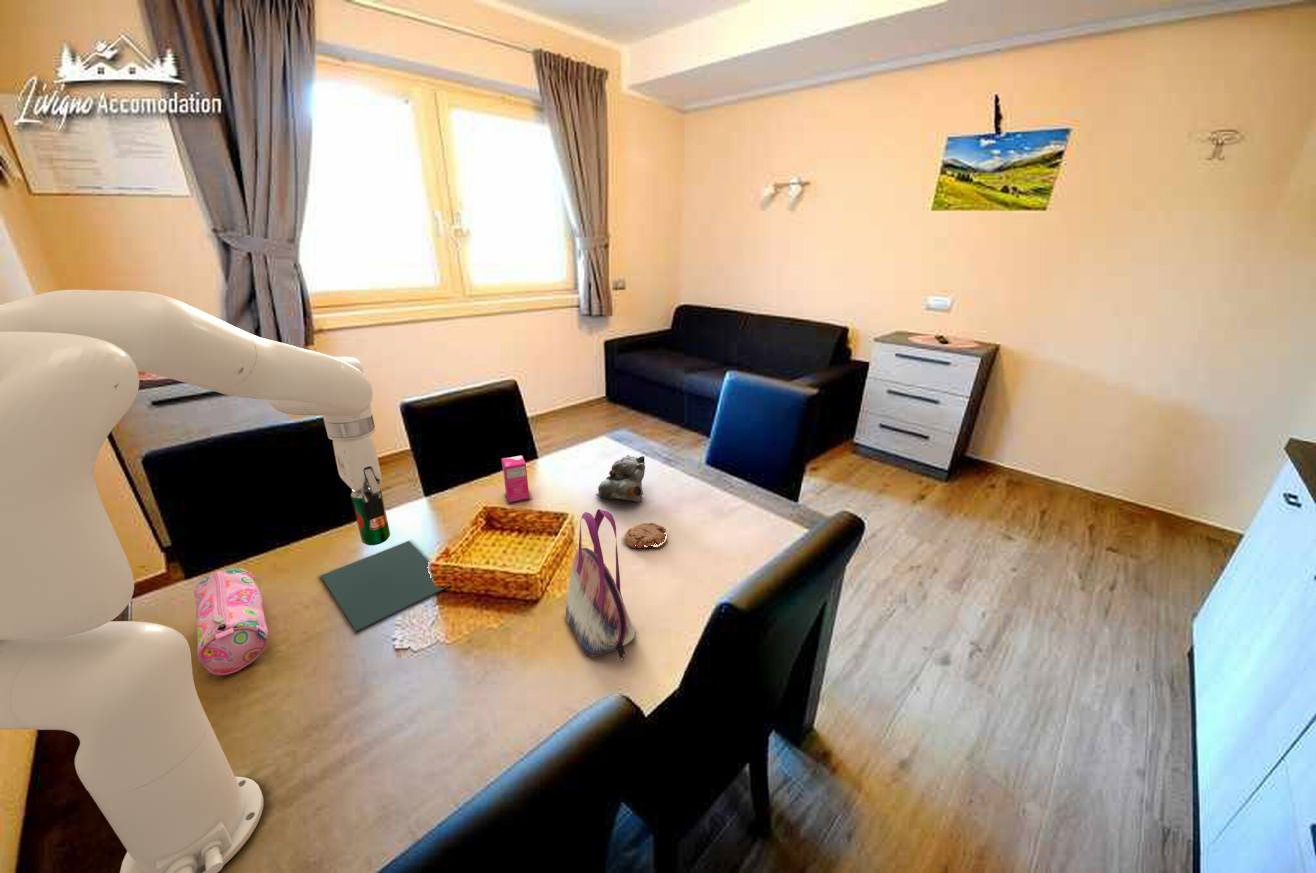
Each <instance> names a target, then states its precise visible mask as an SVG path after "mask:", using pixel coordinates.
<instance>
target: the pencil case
mask: <svg viewBox="0 0 1316 873" xmlns="http://www.w3.org/2000/svg"><path fill="white" fill-rule="evenodd" d="M193 594H194V598H195V606H196V610H195V618H196V621H197V622H196V641H197V647H196V648H197V650H196V653H197V655H196V656H197V659H198V661H199V662H200V665H201V666H202V667H204V669H205V670H206V671H208V672H209V673H211V674H213V675H216V676H228V675H231V674H234V673H237V672H239V671H241V670H242V669H244V668H246V667H247V666H250V664H252V663H253V662H255V661H256V660H257V659H258V658H259V657H261V655H262V654H263V653H264V651H265V650H266V648H267V646H268V644H269V629H268V626H267V620H266V616H265V612H264V604H263V596H262V593H261V591H260V590H259V587H258V585H257V584H256V579H255V576H254V575H253V574H252V573H251V572H250V571H249V570H247V569H245V568H241V567H235V568H234V567H233V568H228V569H224V570H220V571H215V572H214V573H213V574H210V575H209V576H207V577H205V578H204V579H202V580H201V581H200V582H199V583H197V584H196V586H195V588H194V592H193Z"/></svg>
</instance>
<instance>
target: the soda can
mask: <svg viewBox="0 0 1316 873" xmlns="http://www.w3.org/2000/svg"><path fill="white" fill-rule="evenodd" d="M365 485H368V483H364V485H363V486H365ZM379 489H380V494H381V499H382V503H383V508H384V513H385V514H384V515H383V516H380V517H377V518H374V519H372V520H367V519H366V517H365V513H364V509H363V504H362V502H363V501H364V500H363V497H362V494H361V491H360V489H359V490H358V491H354V490H352V489H351V491H352V492H351V493H350V499H351V503H352V507H353V511H354V516H355V519H356V523H357V527H358V531H359V532H358V533H359V536H360V539H361V543H362V544H365V545H366V546H379V545H381V544H383V543H384V542H386V541H388V540H389V538H390V536H391V530H390V525H389V521H388V516H387V512H386V507H385V502H384V498H383V494H382V488H381V487H379ZM365 491H366V494H367V493H368V492H370V488H368V489H365Z"/></svg>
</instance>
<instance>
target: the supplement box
mask: <svg viewBox="0 0 1316 873" xmlns="http://www.w3.org/2000/svg"><path fill="white" fill-rule="evenodd" d="M501 464H502V465H501V466H502V473H503V481H504V489H505V495H506V497H507V501H508V503H509V504H513V503H520V502H525V501H530V499H531V498H530V491H529V490H530V489H529V481H528V480H529V479H528V471H527V462H526V460H525V459H524V456H523V455H517V456H516V455H515V456H511V457H503V458H501Z"/></svg>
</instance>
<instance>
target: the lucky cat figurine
mask: <svg viewBox="0 0 1316 873" xmlns="http://www.w3.org/2000/svg"><path fill="white" fill-rule="evenodd" d="M645 472H646V463H645V456H644V455H642V456H638V457H636V456H634V455H630V454H629V455H628V454H627V455H626V456H623V457H621V458H620V459H617V460H615V462H614V463H613V464H612V466H611V469H610V470H609V471H608V475H609V476H607V477H606V478H605V479H603V481H602V482H601V483H600V484H599V485H598V487H597V489H598V492H597V493H595V494H594V495H595V496H596V497H599V498H600V497H603V498H607V499H618V500H625V501H632V502H639V503H641V502H642V499H643V497H642V495H643V496H644V490H643V484H642V483H643V479H644V478H645Z"/></svg>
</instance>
